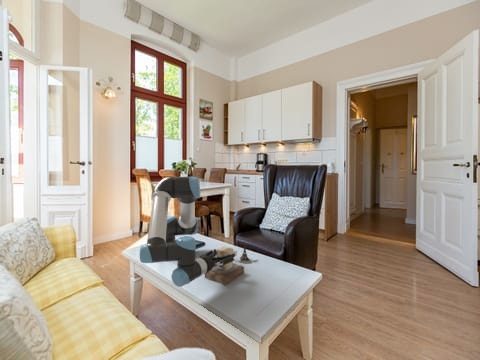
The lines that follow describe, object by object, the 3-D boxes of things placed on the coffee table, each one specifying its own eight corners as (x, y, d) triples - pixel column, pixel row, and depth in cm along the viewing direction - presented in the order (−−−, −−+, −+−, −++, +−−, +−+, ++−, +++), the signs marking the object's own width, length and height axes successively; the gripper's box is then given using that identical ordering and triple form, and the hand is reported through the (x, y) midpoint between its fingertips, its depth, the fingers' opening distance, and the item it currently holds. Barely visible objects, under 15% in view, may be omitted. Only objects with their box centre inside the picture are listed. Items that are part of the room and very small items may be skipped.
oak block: (216, 268, 123) (217, 249, 123) (223, 264, 128) (224, 246, 128) (225, 271, 120) (226, 252, 119) (232, 267, 125) (233, 248, 124)
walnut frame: (204, 277, 122) (204, 269, 121) (223, 266, 135) (223, 259, 135) (226, 285, 114) (226, 277, 114) (243, 272, 128) (243, 265, 127)
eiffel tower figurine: (229, 260, 146) (229, 239, 145) (238, 255, 154) (239, 235, 153) (249, 266, 137) (249, 243, 136) (258, 260, 145) (258, 239, 145)
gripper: (186, 268, 114) (215, 253, 134) (219, 279, 104) (246, 262, 123) (186, 253, 114) (215, 240, 133) (219, 263, 103) (246, 248, 122)
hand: (230, 251), depth 128 cm, fingers open, 7 cm apart
